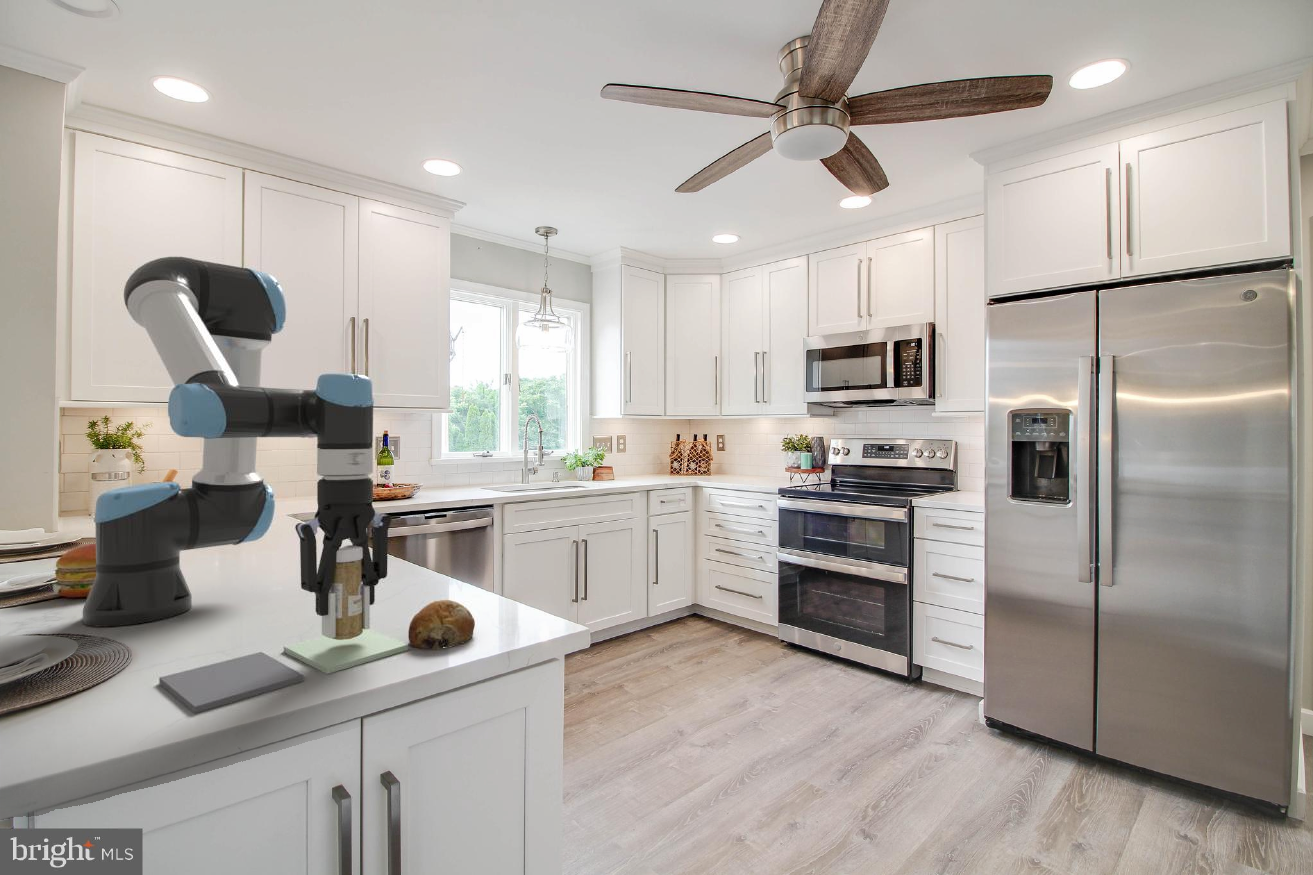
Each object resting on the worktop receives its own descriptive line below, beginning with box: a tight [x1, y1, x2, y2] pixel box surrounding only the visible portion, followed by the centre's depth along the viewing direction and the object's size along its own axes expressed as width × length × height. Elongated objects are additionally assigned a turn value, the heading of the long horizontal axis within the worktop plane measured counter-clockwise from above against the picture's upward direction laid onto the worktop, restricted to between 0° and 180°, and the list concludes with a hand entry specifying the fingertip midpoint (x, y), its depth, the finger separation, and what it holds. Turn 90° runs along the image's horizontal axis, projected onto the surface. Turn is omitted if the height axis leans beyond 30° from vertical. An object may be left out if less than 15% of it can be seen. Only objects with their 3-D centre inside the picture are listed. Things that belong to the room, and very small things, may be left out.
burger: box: [52, 543, 96, 598], centre depth 127 cm, size 13×14×10 cm
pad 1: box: [158, 651, 305, 714], centre depth 82 cm, size 14×12×1 cm
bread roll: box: [407, 599, 476, 650], centre depth 99 cm, size 10×10×8 cm
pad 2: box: [283, 629, 410, 675], centre depth 94 cm, size 14×12×1 cm
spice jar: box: [330, 544, 363, 640], centre depth 94 cm, size 5×5×14 cm
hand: (346, 631), depth 94 cm, fingers closed on spice jar, 4 cm apart
